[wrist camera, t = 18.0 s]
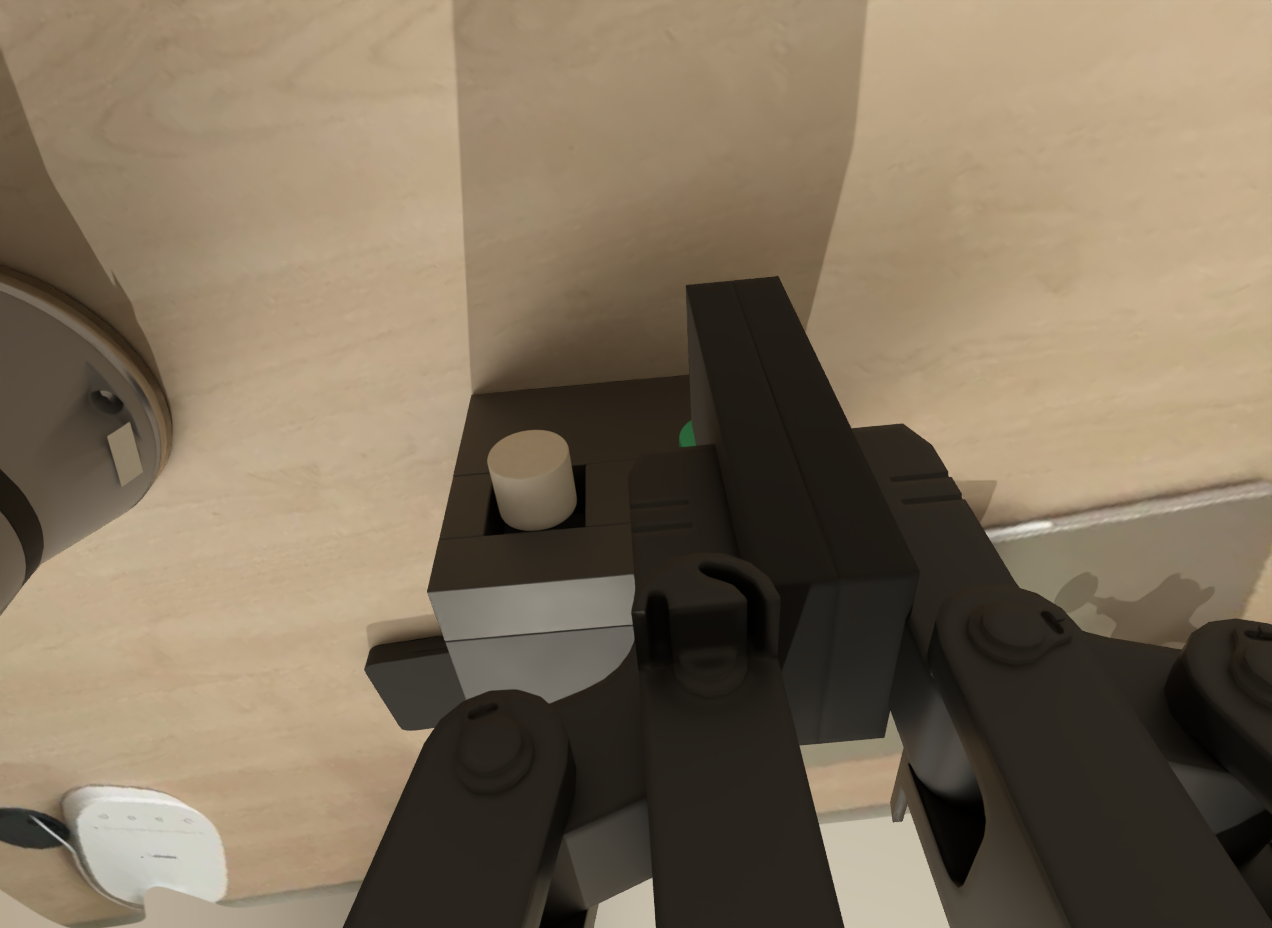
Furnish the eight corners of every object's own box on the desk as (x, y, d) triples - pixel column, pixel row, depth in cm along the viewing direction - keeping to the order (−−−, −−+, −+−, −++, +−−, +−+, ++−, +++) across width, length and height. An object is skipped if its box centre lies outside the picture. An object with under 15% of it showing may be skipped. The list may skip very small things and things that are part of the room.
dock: (471, 394, 40) (426, 591, 29) (772, 367, 40) (843, 554, 29) (499, 507, 45) (470, 713, 34) (767, 483, 45) (826, 682, 34)
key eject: (491, 432, 33) (482, 482, 30) (569, 425, 33) (567, 474, 30) (503, 484, 34) (496, 535, 32) (577, 477, 34) (576, 528, 32)
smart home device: (671, 697, 54) (403, 735, 56) (669, 676, 56) (408, 714, 57) (654, 622, 49) (359, 666, 50) (652, 602, 51) (365, 645, 52)
